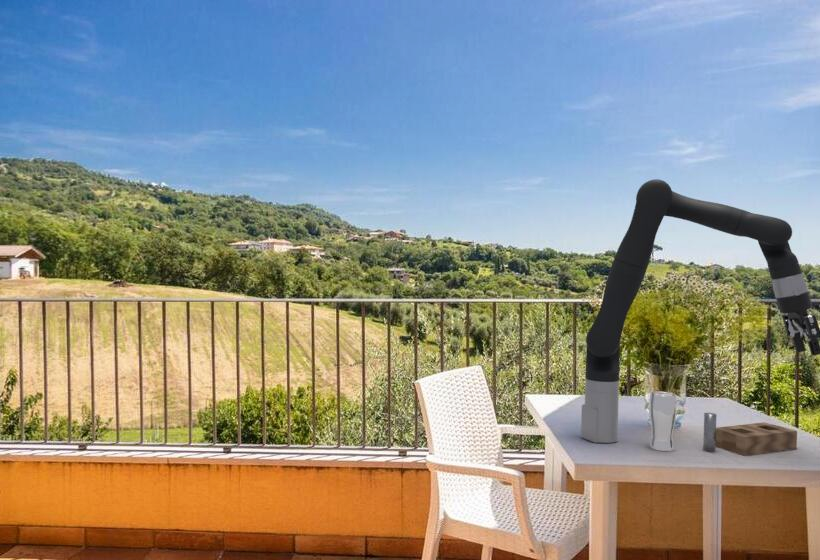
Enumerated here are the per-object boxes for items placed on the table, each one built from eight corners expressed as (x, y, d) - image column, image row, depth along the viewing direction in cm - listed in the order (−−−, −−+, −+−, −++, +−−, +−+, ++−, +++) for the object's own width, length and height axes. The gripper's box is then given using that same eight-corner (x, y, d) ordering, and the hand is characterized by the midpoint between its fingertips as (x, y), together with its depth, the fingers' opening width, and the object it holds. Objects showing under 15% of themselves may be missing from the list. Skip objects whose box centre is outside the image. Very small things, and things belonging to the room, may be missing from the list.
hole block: (745, 455, 166) (745, 437, 166) (713, 445, 176) (714, 427, 176) (796, 448, 174) (797, 430, 174) (763, 439, 183) (764, 422, 183)
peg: (709, 452, 169) (710, 415, 169) (700, 449, 172) (701, 413, 172) (717, 451, 170) (719, 414, 170) (708, 448, 173) (709, 412, 173)
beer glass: (652, 443, 177) (654, 390, 177) (678, 448, 173) (680, 393, 172) (644, 448, 172) (645, 393, 171) (670, 453, 167) (672, 397, 167)
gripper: (765, 296, 173) (782, 354, 172) (788, 296, 159) (806, 359, 158) (794, 289, 172) (811, 347, 171) (819, 289, 158) (838, 352, 157)
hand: (808, 353), depth 164 cm, fingers open, 8 cm apart
